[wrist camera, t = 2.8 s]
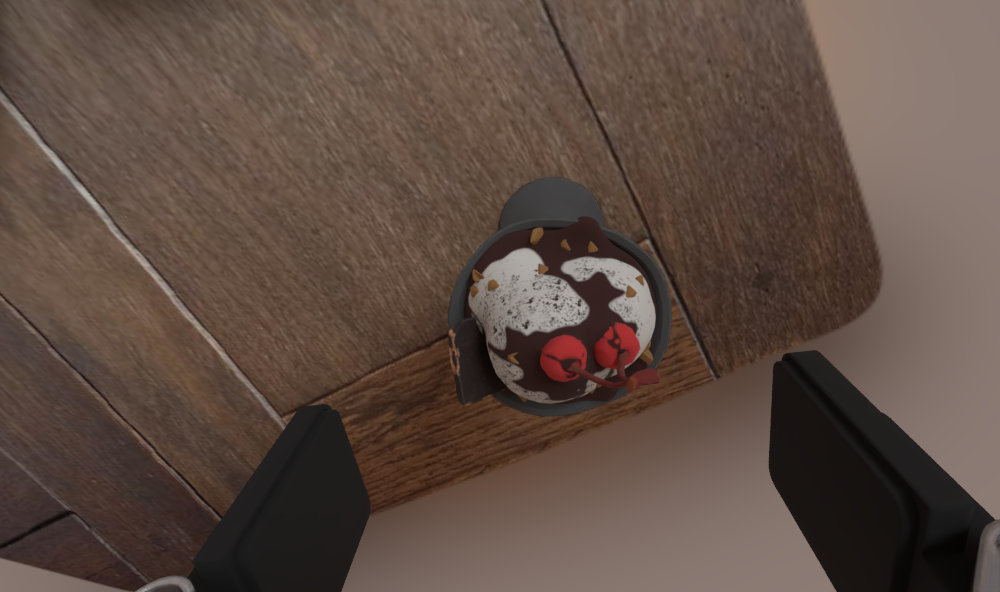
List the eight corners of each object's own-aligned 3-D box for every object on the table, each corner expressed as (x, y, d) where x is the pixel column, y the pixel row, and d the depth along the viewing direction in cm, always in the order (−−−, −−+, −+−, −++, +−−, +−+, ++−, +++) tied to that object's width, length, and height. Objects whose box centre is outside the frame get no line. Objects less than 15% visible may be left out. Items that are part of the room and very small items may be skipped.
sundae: (645, 182, 23) (795, 346, 10) (590, 308, 26) (646, 574, 12) (507, 136, 23) (457, 239, 9) (466, 268, 26) (382, 499, 12)
